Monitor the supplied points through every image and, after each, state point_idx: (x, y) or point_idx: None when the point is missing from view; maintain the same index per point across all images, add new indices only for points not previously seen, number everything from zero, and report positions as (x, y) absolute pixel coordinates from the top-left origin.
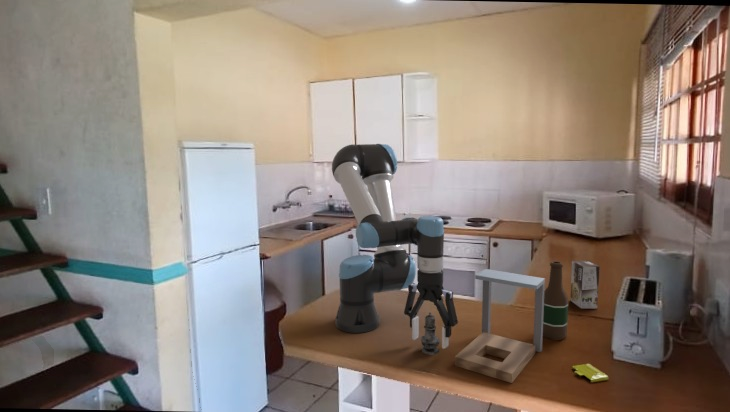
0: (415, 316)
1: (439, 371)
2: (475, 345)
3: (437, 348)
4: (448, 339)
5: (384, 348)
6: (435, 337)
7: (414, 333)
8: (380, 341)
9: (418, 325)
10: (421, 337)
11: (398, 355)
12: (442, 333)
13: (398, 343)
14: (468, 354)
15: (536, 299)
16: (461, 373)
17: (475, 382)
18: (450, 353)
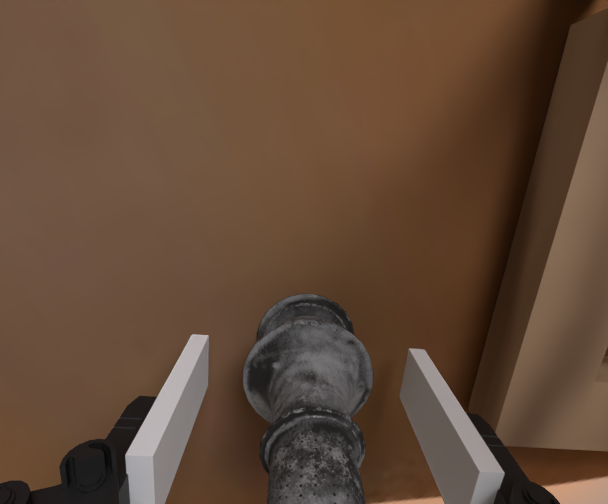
0: (126, 483)
1: (418, 476)
2: (585, 271)
3: (336, 307)
4: (439, 374)
5: (91, 426)
6: (349, 391)
7: (196, 415)
8: (16, 374)
9: (183, 393)
10: (248, 387)
11: (194, 449)
12: (438, 481)
13: (114, 348)
14: (557, 394)
15: None
16: (509, 450)
17: (573, 479)
18: (415, 314)
